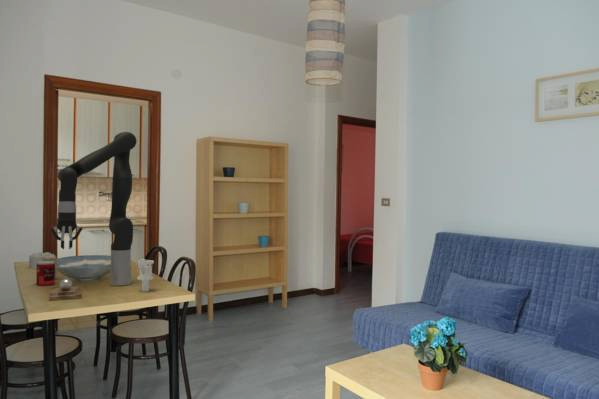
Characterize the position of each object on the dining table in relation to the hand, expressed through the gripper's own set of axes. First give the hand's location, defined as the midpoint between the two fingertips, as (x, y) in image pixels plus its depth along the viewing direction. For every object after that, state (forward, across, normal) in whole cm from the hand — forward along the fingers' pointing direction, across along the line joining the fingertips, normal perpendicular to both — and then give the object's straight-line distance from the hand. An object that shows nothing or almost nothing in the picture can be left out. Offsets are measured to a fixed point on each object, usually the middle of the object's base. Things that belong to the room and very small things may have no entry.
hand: (66, 248), depth 213 cm
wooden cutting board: (+19, 0, +11) cm, 22 cm away
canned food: (+19, +9, -17) cm, 27 cm away
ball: (+15, 0, +8) cm, 17 cm away
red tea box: (+19, +8, -30) cm, 37 cm away
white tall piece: (+19, -33, +15) cm, 41 cm away
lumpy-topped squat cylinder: (+19, +13, -75) cm, 79 cm away
